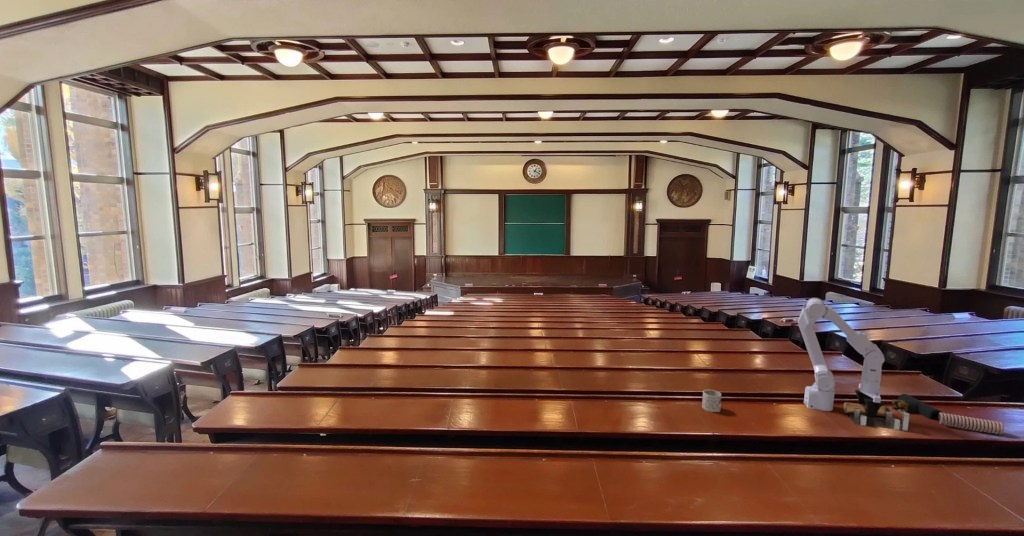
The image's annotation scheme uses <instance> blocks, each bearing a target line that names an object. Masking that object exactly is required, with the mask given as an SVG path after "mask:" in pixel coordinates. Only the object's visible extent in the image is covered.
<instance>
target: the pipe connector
mask: <svg viewBox="0 0 1024 536" xmlns="http://www.w3.org/2000/svg"><path fill="white" fill-rule="evenodd" d="M891 403H892V404H893V406H891V407H890V409H891V410H892V409H893V410H896V412H898V410H904V411H905V412H906V413H909V414H913V413H915V414H917V413H918V414H919V415H921V416H923V417H925V418H926V419H928V420H933V418H935V419H936V420H937V421H939V419H938V416H939V413H940V412H941V413H943V412H942V411H941V410H939V409H937V408H936V407H933V406H931V405H930V404H927V403H925V402H923V401H921V400H919V399H917V398H915V397H913V396H911V395H909V394H908V393H907V394H906V393H901V394H900V395H899V396H898V397H897V399H892V401H891Z"/></svg>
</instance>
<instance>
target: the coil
mask: <svg viewBox="0 0 1024 536" xmlns="http://www.w3.org/2000/svg"><path fill="white" fill-rule="evenodd" d="M941 412H942V411H941ZM941 412H940V413H939V416H938V419H939V420H938V419H937V420H938V421H939V424H942V425H944V426H945V427H949V428H951V427H952V428H954V427H955V428H956V429H960V430H967V431H971V432H972V431H973V432H979V433H983V432H985V433H986V432H987V433H986V434H990V433H995V434H996V435H997V434H999V435H998V436H1002V435H1001V434H1004V429H1005V427H1004V423H1003V422H1001V421H996V420H990V419H982V418H978V417H971V416H969V417H968V416H964V415H959V414H958V415H957V414H952V413H945V412H942V413H941ZM995 434H994V435H995Z"/></svg>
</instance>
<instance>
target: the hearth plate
mask: <svg viewBox="0 0 1024 536" xmlns="http://www.w3.org/2000/svg"><path fill="white" fill-rule="evenodd" d="M845 415H846V416H847V417H848V418H849V419H850V420H851V422H853V424H854V425H857V426H861V425H860V417H861V415H859V418H854V417H853V416H854V414H849V413H845ZM894 419H896V418H895V417H894V416H892V419H891V422H886V421H885V418H882V417H875V418H868V417H867V419H866V427H871V428H872V427H873V428H881V429H889V430H894V429H893V421H894ZM901 425H902V423H900V426H899V430H898V431H904V430H901ZM908 431H909V430H907V431H906V432H908ZM904 432H905V431H904Z"/></svg>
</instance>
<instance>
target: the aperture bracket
mask: <svg viewBox="0 0 1024 536" xmlns="http://www.w3.org/2000/svg"><path fill="white" fill-rule="evenodd" d="M897 413H899V414H901V415H902V418H901V430H900V431H903V430H904V432H908V431H909V430H908V429H909V421H910V413H906V412H905V411H904V410H898V411H897ZM907 430H908V431H907Z"/></svg>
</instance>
